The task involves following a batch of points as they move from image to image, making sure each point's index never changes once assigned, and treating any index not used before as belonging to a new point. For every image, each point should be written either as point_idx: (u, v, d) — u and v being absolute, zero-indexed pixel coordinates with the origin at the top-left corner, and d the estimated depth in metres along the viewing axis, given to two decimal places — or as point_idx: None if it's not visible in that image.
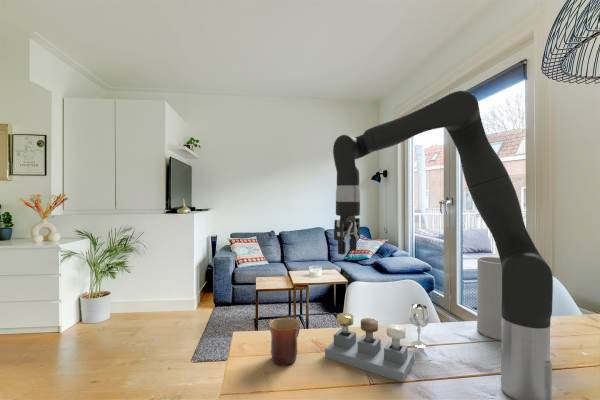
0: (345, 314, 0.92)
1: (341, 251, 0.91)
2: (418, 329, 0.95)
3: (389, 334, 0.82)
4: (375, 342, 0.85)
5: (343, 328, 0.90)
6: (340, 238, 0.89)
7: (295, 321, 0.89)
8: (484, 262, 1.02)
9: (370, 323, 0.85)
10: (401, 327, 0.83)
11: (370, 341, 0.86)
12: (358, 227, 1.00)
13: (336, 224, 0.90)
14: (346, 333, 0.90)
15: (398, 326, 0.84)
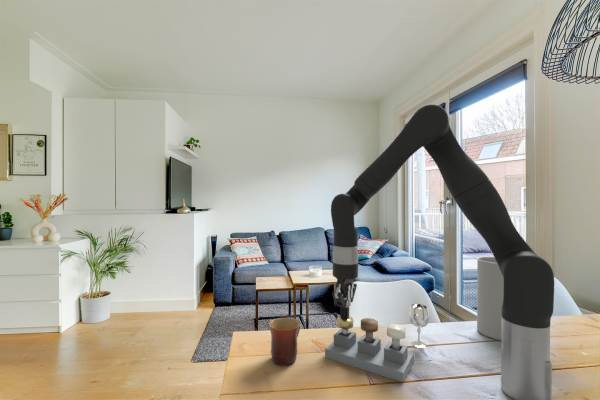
0: None
1: (344, 317, 0.90)
2: (418, 329, 0.95)
3: (389, 334, 0.82)
4: (375, 342, 0.85)
5: (343, 331, 0.90)
6: (343, 306, 0.88)
7: (295, 321, 0.89)
8: (484, 262, 1.02)
9: (370, 323, 0.85)
10: (401, 327, 0.83)
11: (370, 341, 0.86)
12: (353, 292, 0.93)
13: (335, 297, 0.86)
14: (346, 336, 0.90)
15: (398, 326, 0.84)
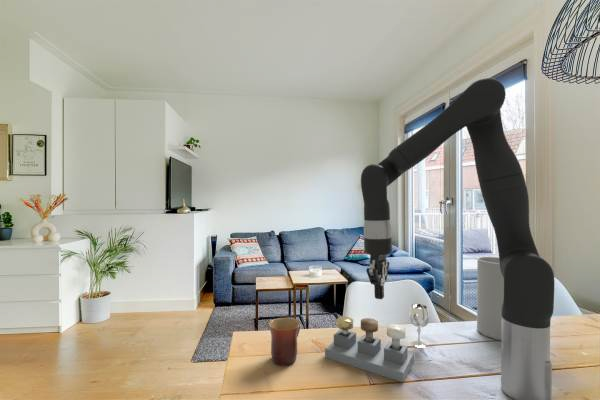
0: (345, 318, 0.92)
1: (379, 296, 0.84)
2: (418, 329, 0.95)
3: (389, 334, 0.82)
4: (375, 342, 0.85)
5: (343, 332, 0.90)
6: (378, 284, 0.82)
7: (295, 321, 0.89)
8: (484, 262, 1.02)
9: (370, 323, 0.85)
10: (401, 327, 0.83)
11: (370, 341, 0.86)
12: (386, 270, 0.88)
13: (369, 274, 0.81)
14: (346, 336, 0.90)
15: (398, 326, 0.84)
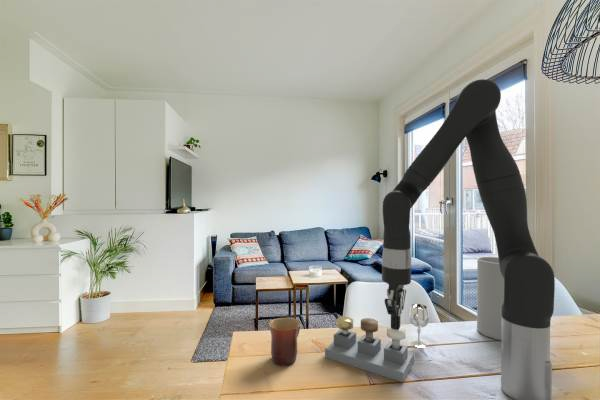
0: (345, 318, 0.92)
1: (395, 326, 0.81)
2: (418, 329, 0.95)
3: (389, 335, 0.82)
4: (375, 342, 0.85)
5: (343, 332, 0.90)
6: (395, 315, 0.80)
7: (295, 321, 0.89)
8: (484, 262, 1.02)
9: (370, 323, 0.85)
10: (401, 328, 0.83)
11: (370, 341, 0.86)
12: (403, 299, 0.85)
13: (387, 304, 0.78)
14: (346, 336, 0.90)
15: None
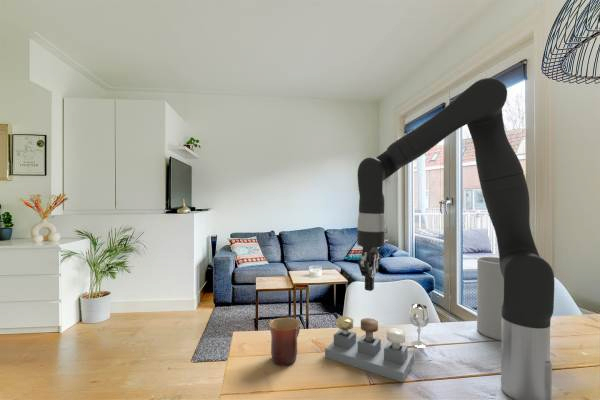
0: (345, 318, 0.92)
1: (368, 287, 0.85)
2: (418, 329, 0.95)
3: (389, 338, 0.82)
4: (375, 342, 0.85)
5: (343, 332, 0.90)
6: (368, 276, 0.84)
7: (295, 321, 0.89)
8: (484, 262, 1.02)
9: (370, 323, 0.85)
10: (401, 331, 0.83)
11: (370, 341, 0.86)
12: (378, 263, 0.89)
13: (361, 265, 0.82)
14: (346, 336, 0.90)
15: (398, 330, 0.84)
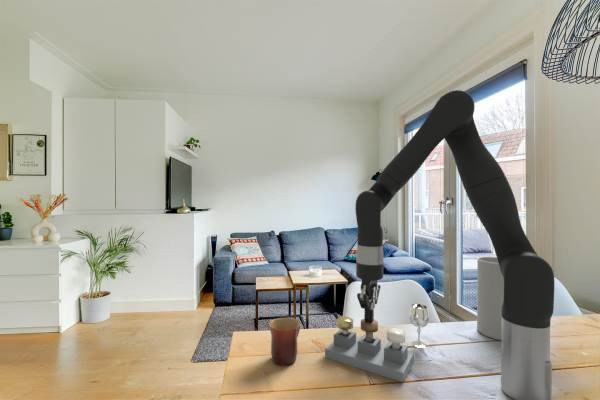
0: (345, 318, 0.92)
1: (368, 320, 0.86)
2: (418, 329, 0.95)
3: (389, 338, 0.82)
4: (375, 342, 0.85)
5: (343, 332, 0.90)
6: (368, 309, 0.84)
7: (295, 321, 0.89)
8: (484, 262, 1.02)
9: (370, 324, 0.85)
10: (401, 331, 0.83)
11: (370, 341, 0.86)
12: (377, 294, 0.89)
13: (360, 299, 0.82)
14: (346, 336, 0.90)
15: (398, 330, 0.84)
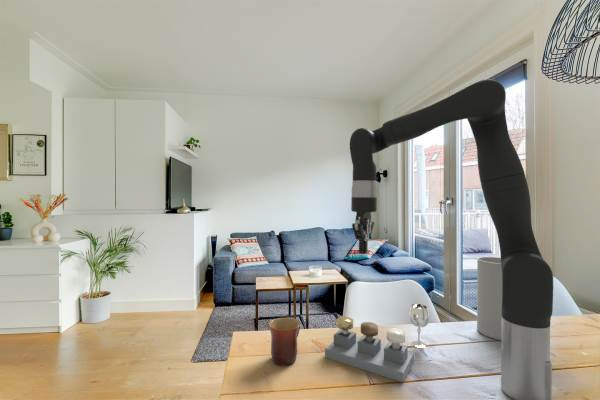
0: (345, 318, 0.92)
1: (362, 250, 0.91)
2: (418, 329, 0.95)
3: (389, 338, 0.82)
4: (375, 342, 0.85)
5: (343, 332, 0.90)
6: (362, 239, 0.89)
7: (295, 321, 0.89)
8: (484, 262, 1.02)
9: (370, 328, 0.85)
10: (401, 331, 0.83)
11: None
12: (371, 228, 0.95)
13: (355, 228, 0.88)
14: (346, 336, 0.90)
15: (398, 330, 0.84)
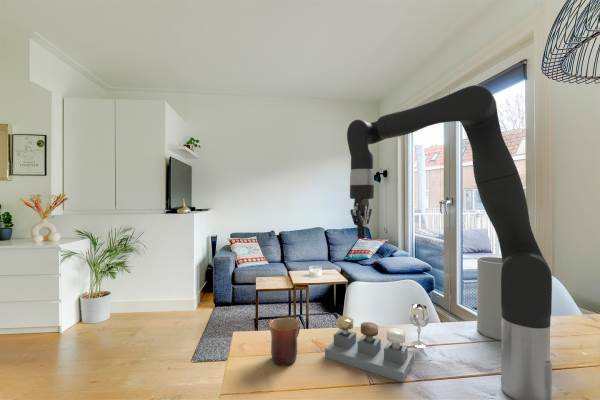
0: (345, 318, 0.92)
1: (361, 235, 0.96)
2: (418, 329, 0.95)
3: (389, 338, 0.82)
4: (375, 342, 0.85)
5: (343, 332, 0.90)
6: (360, 224, 0.94)
7: (295, 321, 0.89)
8: (484, 262, 1.02)
9: (370, 328, 0.85)
10: (401, 331, 0.83)
11: None
12: (369, 215, 1.00)
13: (353, 214, 0.93)
14: (346, 336, 0.90)
15: (398, 330, 0.84)
